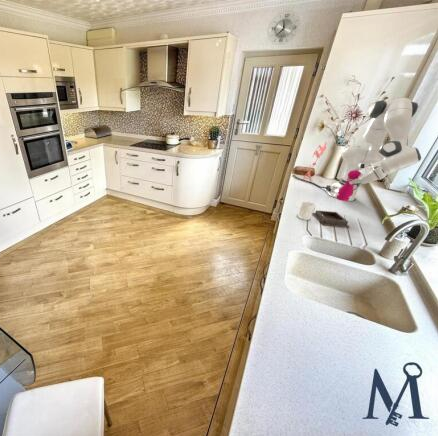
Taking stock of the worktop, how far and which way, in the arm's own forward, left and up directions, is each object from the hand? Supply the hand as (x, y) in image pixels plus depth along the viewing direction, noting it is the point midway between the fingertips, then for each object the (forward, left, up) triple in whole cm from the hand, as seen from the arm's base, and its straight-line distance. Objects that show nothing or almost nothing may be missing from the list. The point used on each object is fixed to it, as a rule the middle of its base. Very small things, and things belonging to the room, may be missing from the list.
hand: (349, 181), depth 141 cm
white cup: (+1, -17, -27) cm, 32 cm away
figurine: (-80, +26, -27) cm, 88 cm away
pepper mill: (0, +1, -12) cm, 12 cm away
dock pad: (+2, -1, -27) cm, 27 cm away
